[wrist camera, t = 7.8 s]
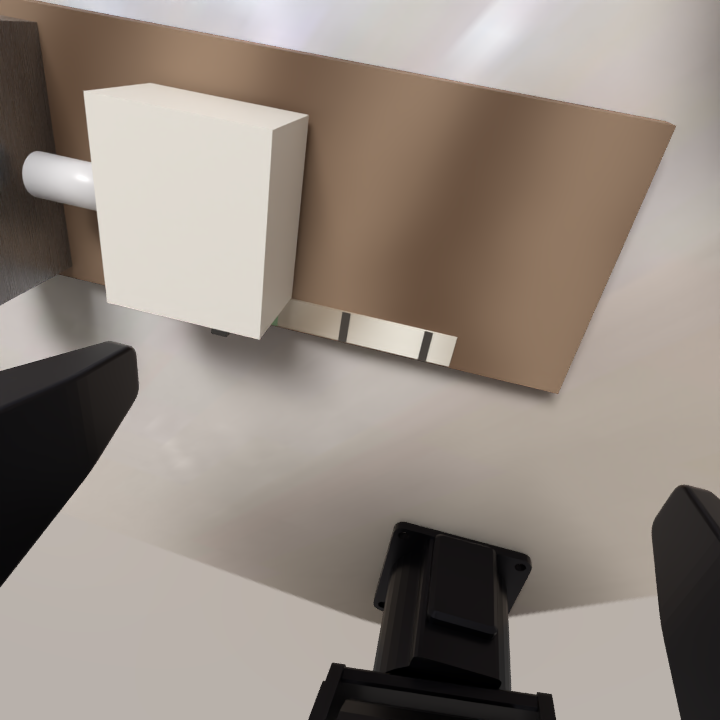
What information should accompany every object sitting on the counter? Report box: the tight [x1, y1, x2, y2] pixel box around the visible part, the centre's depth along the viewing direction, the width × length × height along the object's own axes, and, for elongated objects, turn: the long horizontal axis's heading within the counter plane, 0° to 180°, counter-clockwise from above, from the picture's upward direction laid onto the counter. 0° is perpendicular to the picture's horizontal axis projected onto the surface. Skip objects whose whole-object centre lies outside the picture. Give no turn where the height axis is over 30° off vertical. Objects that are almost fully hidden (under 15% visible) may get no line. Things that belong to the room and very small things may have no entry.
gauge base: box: [0, 0, 676, 394], centre depth 18 cm, size 22×9×1 cm, turn 81°
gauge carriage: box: [22, 83, 309, 340], centre depth 17 cm, size 8×8×3 cm
